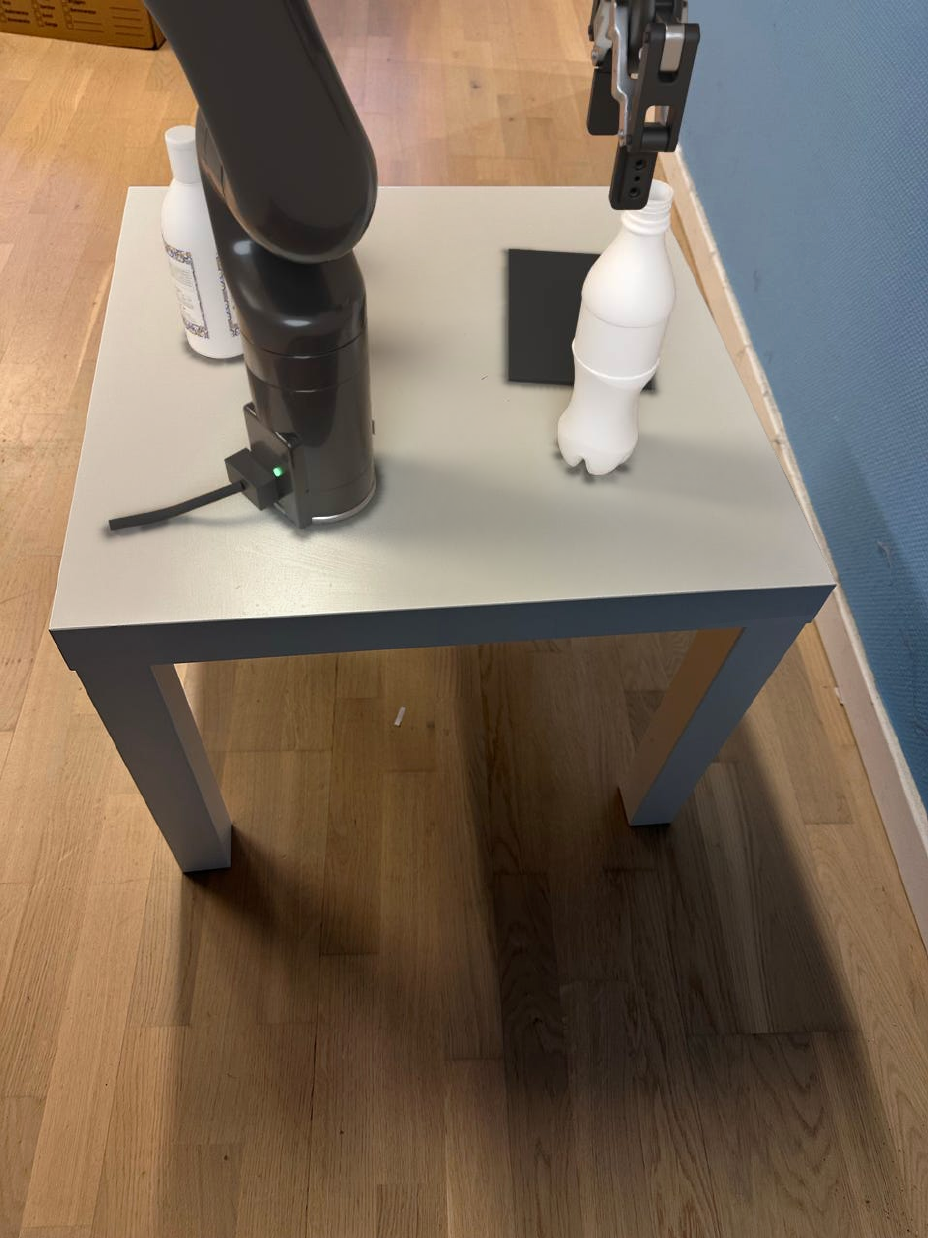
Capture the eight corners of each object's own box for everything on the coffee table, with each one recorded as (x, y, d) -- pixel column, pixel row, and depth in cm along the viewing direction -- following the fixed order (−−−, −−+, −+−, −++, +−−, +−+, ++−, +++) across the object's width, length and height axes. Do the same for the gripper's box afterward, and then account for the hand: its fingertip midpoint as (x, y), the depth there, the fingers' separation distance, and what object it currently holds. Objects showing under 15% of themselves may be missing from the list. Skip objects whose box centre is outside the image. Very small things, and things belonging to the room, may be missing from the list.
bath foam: (258, 314, 91) (225, 110, 75) (260, 358, 87) (226, 153, 71) (188, 318, 90) (140, 113, 74) (187, 363, 86) (136, 156, 70)
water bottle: (540, 464, 81) (584, 198, 60) (572, 417, 85) (623, 152, 64) (613, 493, 79) (684, 230, 59) (643, 445, 83) (718, 181, 63)
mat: (651, 389, 88) (651, 386, 87) (508, 381, 87) (509, 378, 87) (632, 259, 100) (633, 256, 100) (508, 251, 100) (508, 248, 100)
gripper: (573, -220, 46) (539, 111, 59) (623, -124, 37) (570, 235, 51) (717, -215, 46) (651, 111, 59) (796, -120, 38) (699, 234, 51)
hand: (614, 168), depth 55 cm, fingers open, 8 cm apart
